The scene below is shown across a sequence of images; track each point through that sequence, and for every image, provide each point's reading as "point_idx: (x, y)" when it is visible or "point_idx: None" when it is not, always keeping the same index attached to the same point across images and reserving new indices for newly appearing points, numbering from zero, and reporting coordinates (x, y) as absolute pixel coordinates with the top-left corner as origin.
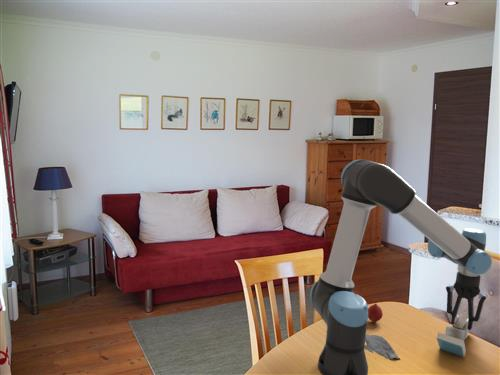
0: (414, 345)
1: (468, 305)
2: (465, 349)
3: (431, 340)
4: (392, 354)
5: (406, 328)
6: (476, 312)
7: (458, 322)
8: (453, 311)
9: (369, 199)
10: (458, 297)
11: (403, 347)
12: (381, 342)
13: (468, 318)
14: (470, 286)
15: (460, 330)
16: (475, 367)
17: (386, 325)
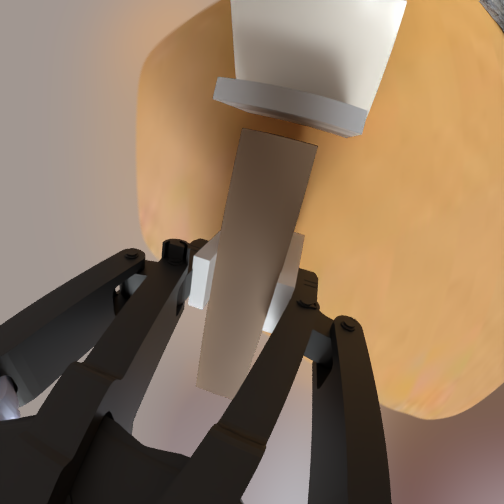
0: (463, 99)
1: (131, 352)
2: (236, 74)
3: (400, 181)
4: (497, 8)
5: (483, 258)
6: (94, 287)
7: (267, 240)
8: (307, 324)
9: None
10: (233, 465)
11: (490, 71)
12: None
13: (184, 269)
14: None
15: (250, 88)
16: (205, 27)
17: None
